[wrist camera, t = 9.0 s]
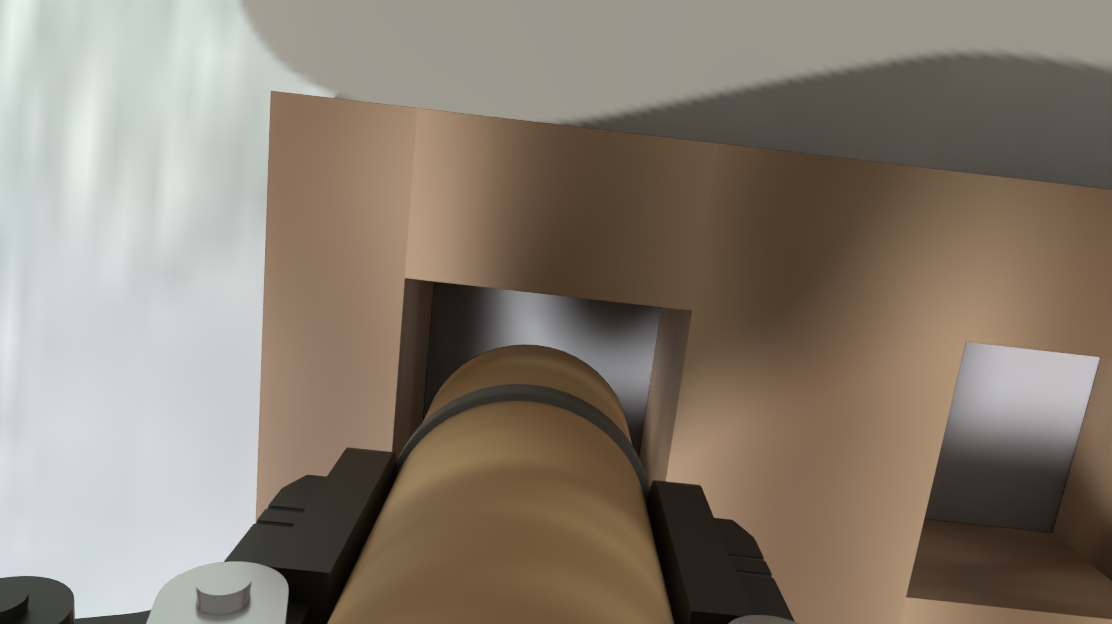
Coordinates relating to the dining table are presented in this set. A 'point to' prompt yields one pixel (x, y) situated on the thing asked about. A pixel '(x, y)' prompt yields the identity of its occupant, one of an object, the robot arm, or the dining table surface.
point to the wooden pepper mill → (514, 506)
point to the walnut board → (709, 330)
